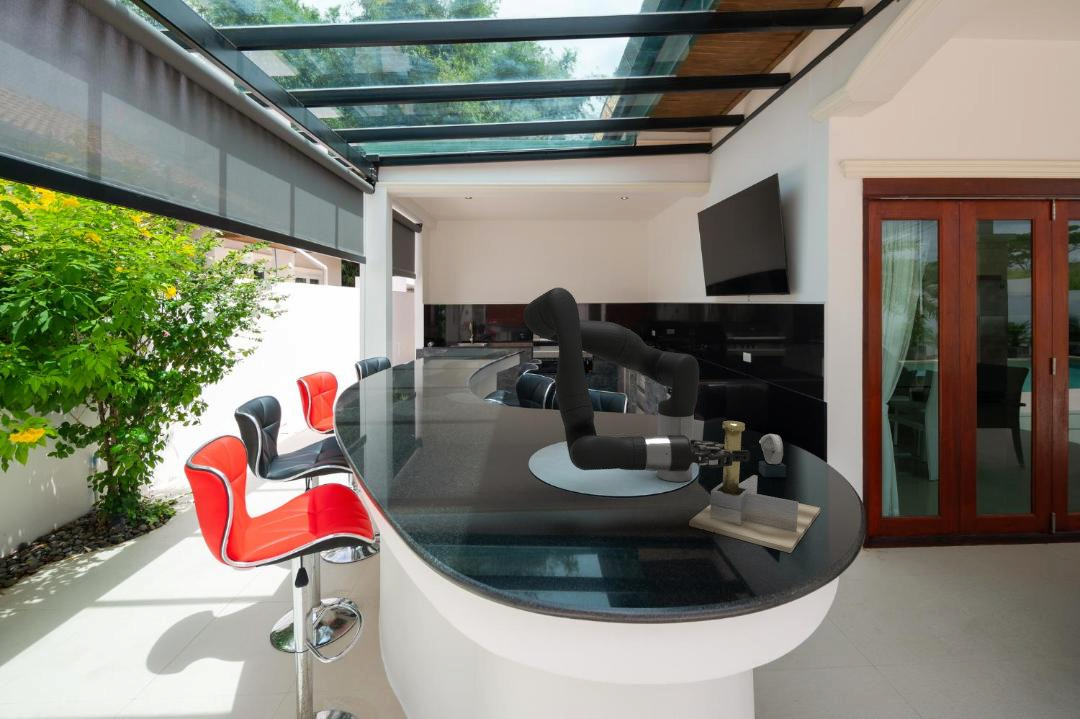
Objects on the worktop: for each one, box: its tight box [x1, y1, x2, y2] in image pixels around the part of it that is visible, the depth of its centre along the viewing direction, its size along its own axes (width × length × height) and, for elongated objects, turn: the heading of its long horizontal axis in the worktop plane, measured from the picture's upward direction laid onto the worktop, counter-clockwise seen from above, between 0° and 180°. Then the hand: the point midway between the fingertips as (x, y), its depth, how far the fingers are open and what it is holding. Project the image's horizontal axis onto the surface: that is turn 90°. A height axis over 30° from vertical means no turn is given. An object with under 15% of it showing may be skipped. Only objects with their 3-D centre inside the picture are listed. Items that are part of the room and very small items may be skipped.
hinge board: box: [688, 502, 821, 554], centre depth 117 cm, size 25×20×1 cm
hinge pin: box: [721, 420, 746, 495], centre depth 114 cm, size 4×4×16 cm
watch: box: [758, 433, 787, 478], centre depth 146 cm, size 6×8×11 cm
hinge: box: [709, 474, 799, 532], centre depth 116 cm, size 16×16×6 cm
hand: (745, 453), depth 114 cm, fingers closed on hinge pin, 3 cm apart
